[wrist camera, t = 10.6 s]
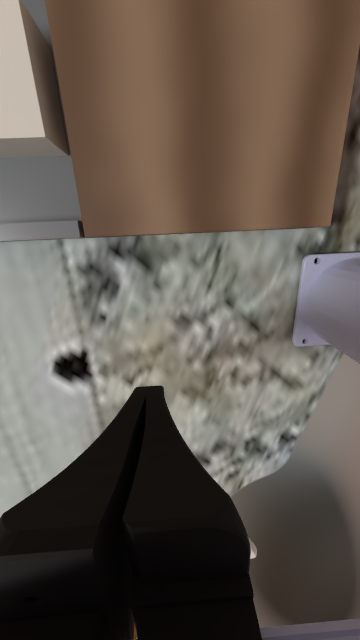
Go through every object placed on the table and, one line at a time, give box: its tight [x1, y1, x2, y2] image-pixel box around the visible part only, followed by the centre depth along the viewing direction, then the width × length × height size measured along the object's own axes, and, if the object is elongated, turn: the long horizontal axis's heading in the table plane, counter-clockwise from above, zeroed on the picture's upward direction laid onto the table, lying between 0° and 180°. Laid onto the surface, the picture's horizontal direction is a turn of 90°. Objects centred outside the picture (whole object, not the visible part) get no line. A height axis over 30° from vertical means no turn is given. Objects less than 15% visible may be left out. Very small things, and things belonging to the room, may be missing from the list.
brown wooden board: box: [45, 0, 360, 237], centre depth 14 cm, size 16×16×3 cm
